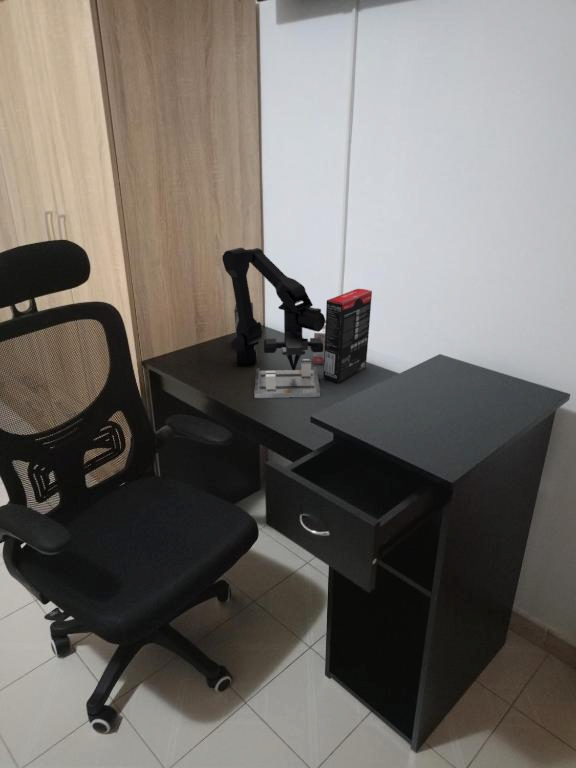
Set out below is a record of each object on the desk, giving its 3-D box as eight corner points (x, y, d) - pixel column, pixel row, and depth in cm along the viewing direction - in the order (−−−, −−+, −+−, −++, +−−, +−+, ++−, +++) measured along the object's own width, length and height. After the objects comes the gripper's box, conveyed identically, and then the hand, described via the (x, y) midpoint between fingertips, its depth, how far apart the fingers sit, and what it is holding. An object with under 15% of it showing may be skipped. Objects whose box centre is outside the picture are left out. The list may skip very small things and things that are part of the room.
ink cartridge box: (313, 364, 190) (313, 324, 184) (314, 358, 195) (314, 319, 188) (337, 365, 189) (339, 324, 183) (338, 359, 194) (339, 319, 187)
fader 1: (265, 389, 168) (265, 375, 166) (266, 383, 172) (265, 370, 170) (275, 389, 168) (275, 375, 166) (275, 383, 172) (275, 370, 170)
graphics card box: (351, 362, 191) (354, 286, 179) (368, 367, 187) (373, 290, 175) (322, 379, 179) (324, 299, 167) (340, 385, 175) (342, 303, 163)
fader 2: (301, 376, 177) (301, 363, 175) (301, 371, 180) (301, 358, 178) (311, 376, 177) (311, 363, 175) (310, 371, 180) (310, 358, 178)
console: (254, 398, 167) (254, 390, 166) (256, 374, 183) (256, 367, 182) (319, 397, 168) (319, 389, 166) (316, 373, 183) (316, 366, 182)
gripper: (263, 334, 164) (264, 380, 170) (325, 333, 164) (324, 379, 171) (263, 321, 174) (265, 366, 180) (322, 320, 174) (321, 365, 181)
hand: (293, 369), depth 178 cm, fingers closed
